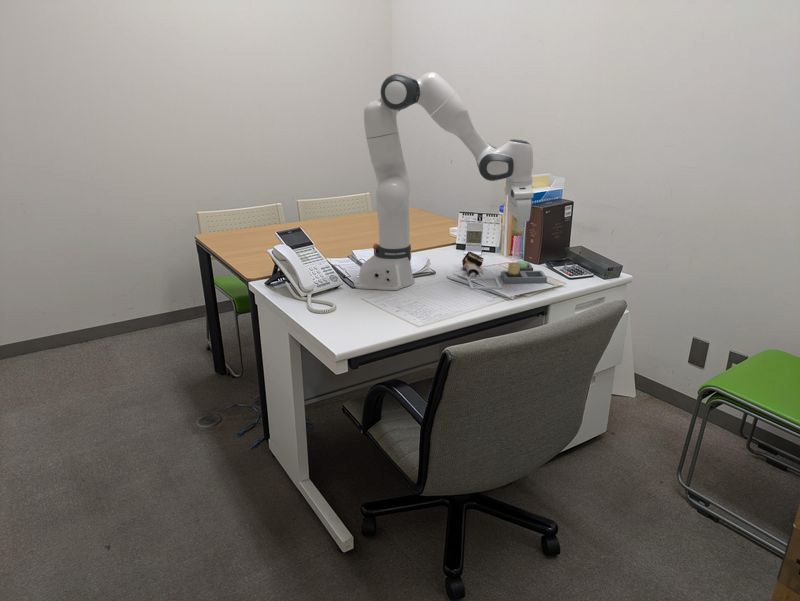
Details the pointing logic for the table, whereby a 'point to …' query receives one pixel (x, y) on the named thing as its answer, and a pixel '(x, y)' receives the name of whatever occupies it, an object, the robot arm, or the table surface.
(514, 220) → the cylinder
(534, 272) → the compartment tray
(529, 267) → the button housing
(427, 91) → the robot arm
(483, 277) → the grey square tray
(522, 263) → the button
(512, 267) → the billet
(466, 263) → the figurine
